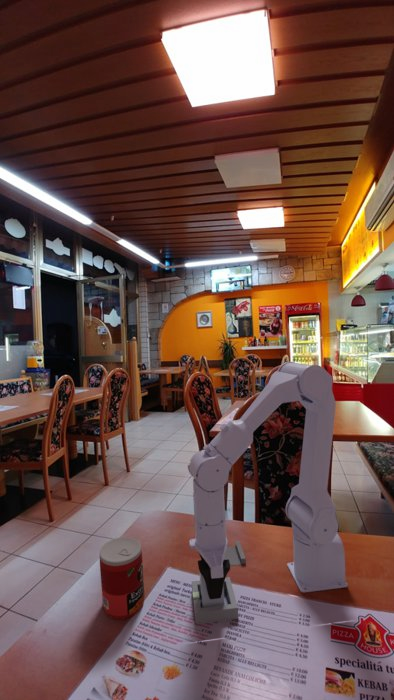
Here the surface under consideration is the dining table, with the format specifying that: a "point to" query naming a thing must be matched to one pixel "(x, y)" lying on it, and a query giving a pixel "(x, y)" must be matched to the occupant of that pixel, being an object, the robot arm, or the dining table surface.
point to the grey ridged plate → (235, 554)
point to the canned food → (122, 577)
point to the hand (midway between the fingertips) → (213, 587)
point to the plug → (205, 597)
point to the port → (215, 611)
